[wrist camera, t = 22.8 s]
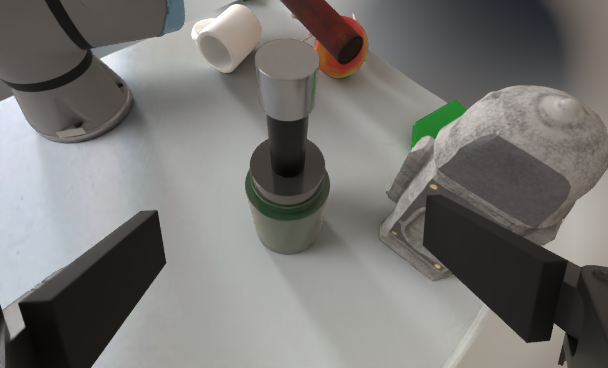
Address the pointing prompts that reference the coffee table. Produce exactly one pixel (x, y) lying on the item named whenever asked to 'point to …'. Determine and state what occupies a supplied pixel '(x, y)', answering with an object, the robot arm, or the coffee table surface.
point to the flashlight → (287, 99)
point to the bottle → (287, 200)
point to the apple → (331, 65)
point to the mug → (228, 37)
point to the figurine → (500, 168)
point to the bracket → (436, 121)
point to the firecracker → (327, 28)
